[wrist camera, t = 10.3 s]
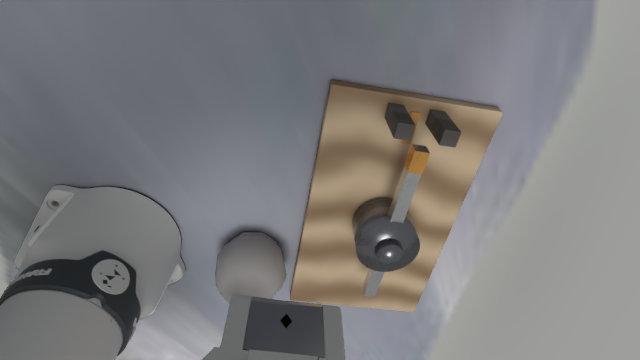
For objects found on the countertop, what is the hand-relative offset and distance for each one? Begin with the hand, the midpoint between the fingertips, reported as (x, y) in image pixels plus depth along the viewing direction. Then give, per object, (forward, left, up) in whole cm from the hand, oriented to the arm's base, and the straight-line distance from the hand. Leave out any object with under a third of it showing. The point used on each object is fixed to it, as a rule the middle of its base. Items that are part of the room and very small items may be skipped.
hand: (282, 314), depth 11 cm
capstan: (-4, -20, -29) cm, 36 cm away
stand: (-6, -21, -31) cm, 38 cm away
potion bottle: (-22, -15, -31) cm, 41 cm away
